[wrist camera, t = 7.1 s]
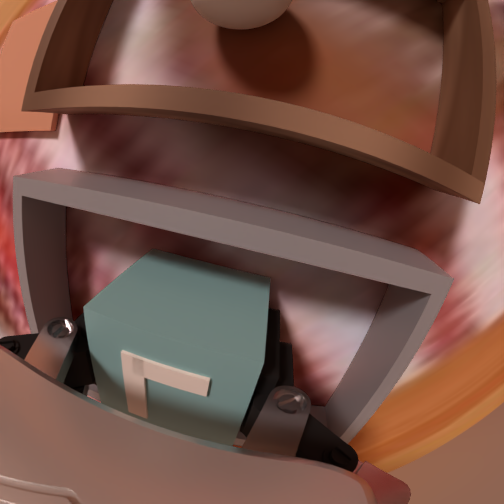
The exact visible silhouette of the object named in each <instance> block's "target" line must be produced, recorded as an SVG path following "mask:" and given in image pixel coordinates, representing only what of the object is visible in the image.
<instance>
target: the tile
mask: <svg viewBox="0 0 504 504" xmlns="http://www.w3.org/2000/svg"><path fill="white" fill-rule="evenodd" d="M57 1H58V0H57ZM57 1H55V2H53V3H50V4H48V5H45V6H43V7H41V8H39V9H37V10H34V11H32V12H30V13H28V14H26V15H24V16H22V17H20V18H18V19H16V20H15V21H13V22H12V25H11V27H10V30H9V32H8V34H7V37H6V40H5V42H4V45H3V48H2V51H1V54H0V132H13V131H56V126H57V120H58V115H59V114H58V113H45V112H26V111H21V109H22V104H23V99H24V95H25V91H26V86H27V82H28V79H29V75H30V71H31V68H32V65H33V61H34V58H35V55H36V52H37V49H38V46H39V44H40V41H41V38H42V36H43V33H44V30H45V28H46V25H47V23H48V21H49V18H50V16H51V14H52V12H53V10H54V7H55V5H56V3H57Z"/></svg>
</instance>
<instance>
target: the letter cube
mask: <svg viewBox="0 0 504 504" xmlns="http://www.w3.org/2000/svg"><path fill="white" fill-rule="evenodd" d="M269 292H270V278H269V277H265V276H261V275H257V274H252V273H248V272H244V271H240V270H236V269H232V268H228V267H224V266H220V265H216V264H212V263H208V262H204V261H200V260H196V259H192V258H188V257H184V256H180V255H176V254H172V253H168V252H164V251H161V250H157V249H151V250H150V251H149V252H148V253H146V254H145V255H144V256H143V257H141V258H140V259H139V260H138V261H136V262H135V263H134V264H133V265H132V266H130V267H129V268H128V269H127V270H126V271H124V272H123V273H122V274H121V275H120V276H118V277H117V278H116V279H115V280H114V281H112V282H111V283H110V284H109V285H108V286H107V287H105V288H104V289H103V290H102V291H101V292H100V293H98V294H97V295H96V296H95V297H94V298H93V299H92V300H90V301H89V302H88V303H87V304H86V305H85V306H84V307H83V309H84V318H85V325H86V332H87V339H88V345H89V350H90V356H91V361H92V366H93V371H94V375H95V380H96V384H97V388H98V392H99V396H100V400H101V403H102V404H104V405H106V406H108V407H111V408H113V409H115V410H117V411H120V412H122V413H125V414H127V415H130V416H132V417H135V418H137V419H140V420H142V421H145V422H148V423H151V424H153V425H156V426H159V427H162V428H165V429H168V430H171V431H175V432H178V433H181V434H184V435H188V436H191V437H195V438H199V439H203V440H207V441H211V442H215V443H219V444H224V445H228V446H233V444H234V441H235V439H236V436H237V434H238V431H239V429H240V426H241V424H242V421H243V418H244V416H245V413H246V411H247V408H248V405H249V403H250V400H251V397H252V395H253V392H254V389H255V386H256V384H257V381H258V378H259V375H260V373H261V370H262V367H263V364H264V358H265V346H266V333H267V320H268V306H269Z"/></svg>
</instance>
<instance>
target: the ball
mask: <svg viewBox="0 0 504 504" xmlns="http://www.w3.org/2000/svg"><path fill="white" fill-rule="evenodd" d="M291 1H292V0H191V2H192V4H193V6H194V8H195V9H196V11H197V12H198V13H199V14H200V15H201V16H202V17H203V18H205V19H206V20H208V21H209V22H211V23H213V24H215V25H218V26H221V27H224V28H229V29H240V30H241V29H252V28H257V27H260V26H263V25H266V24H268V23H270V22H272V21H274V20H275V19H277V18H278V17H280V16H281V15H282V14H283V13H284V12H285V11H286V10H287V8H288V7H289V5H290V3H291Z"/></svg>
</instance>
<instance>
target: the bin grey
mask: <svg viewBox="0 0 504 504" xmlns="http://www.w3.org/2000/svg"><path fill="white" fill-rule="evenodd" d="M66 206H68V207H72V208H76V209H80V210H85V211H89V212H93V213H97V214H101V215H106V216H110V217H114V218H118V219H122V220H127V221H131V222H135V223H139V224H143V225H147V226H152V227H156V228H160V229H164V230H168V231H172V232H177V233H181V234H185V235H189V236H193V237H197V238H202V239H206V240H210V241H214V242H218V243H222V244H227V245H231V246H235V247H239V248H243V249H247V250H251V251H256V252H260V253H264V254H268V255H272V256H276V257H280V258H285V259H289V260H293V261H297V262H301V263H305V264H309V265H314V266H318V267H322V268H326V269H330V270H334V271H338V272H342V273H347V274H351V275H355V276H359V277H363V278H367V279H371V280H375V281H380V282H384V283H388V284H389V286H388V289H387V291H386V293H385V296H384V298H383V300H382V303H381V305H380V307H379V309H378V311H377V313H376V316H375V318H374V320H373V322H372V324H371V326H370V328H369V330H368V332H367V334H366V336H365V338H364V340H363V342H362V344H361V346H360V348H359V350H358V351H357V353H356V355H355V357H354V359H353V361H352V362H351V364H350V366H349V368H348V370H347V371H346V373H345V375H344V377H343V378H342V380H341V382H340V383H339V385H338V387H337V388H336V390H335V392H334V393H333V395H332V396H331V398H330V400H329V401H328V403H327V404H326V406H325V407H324V406H315V405H311V409H310V412H309V413H310V414H311V415H312V416H313V417H315V418H316V419H317V420H318V421H319V422H321V423H322V424H323V425H324V426H326V427H327V428H328V429H329V430H330V431H332V432H333V433H334V434H335V435H337V436H338V437H339V438H341V439H342V440H343V441H344V442H346V443H347V444H348V443H349V442H350V441H351V440H352V439H353V438H354V436H355V435H356V434H357V433H358V432H359V431H360V430H361V428H362V427H363V426H364V425H365V424H366V422H367V421H368V420H369V419H370V418H371V416H372V415H373V414H374V413H375V411H376V410H377V409H378V408H379V406H380V405H381V404H382V402H383V401H384V400H385V398H386V397H387V396H388V394H389V393H390V391H391V390H392V389H393V387H394V386H395V384H396V383H397V382H398V380H399V379H400V377H401V376H402V374H403V373H404V371H405V370H406V368H407V367H408V365H409V363H410V362H411V360H412V359H413V357H414V355H415V354H416V352H417V351H418V349H419V347H420V345H421V344H422V342H423V340H424V339H425V337H426V335H427V333H428V331H429V330H430V328H431V326H432V324H433V322H434V320H435V318H436V316H437V314H438V312H439V310H440V308H441V306H442V304H443V302H444V300H445V298H446V296H447V294H448V292H449V289H450V287H451V285H452V283H453V280H454V278H452V277H451V276H450V275H449V274H448V273H446V272H445V271H444V270H443V269H442V268H440V267H439V266H438V265H437V264H435V263H434V262H433V261H432V260H430V259H429V258H428V257H426V256H425V255H424V254H423V253H421V252H420V251H419V250H417V249H414V248H411V247H408V246H405V245H402V244H398V243H395V242H392V241H389V240H385V239H382V238H379V237H375V236H372V235H369V234H365V233H362V232H358V231H355V230H351V229H348V228H344V227H341V226H337V225H333V224H330V223H326V222H322V221H319V220H315V219H311V218H307V217H303V216H300V215H296V214H292V213H288V212H284V211H280V210H276V209H272V208H268V207H263V206H259V205H255V204H251V203H246V202H242V201H238V200H233V199H229V198H224V197H220V196H215V195H210V194H206V193H201V192H196V191H191V190H186V189H181V188H176V187H171V186H166V185H161V184H156V183H150V182H145V181H139V180H133V179H128V178H122V177H116V176H110V175H103V174H97V173H90V172H84V171H77V170H70V169H62V168H56V169H50V170H44V171H38V172H32V173H27V174H22V175H17V176H13V223H14V239H15V250H16V259H17V266H18V273H19V280H20V286H21V291H22V296H23V301H24V306H25V310H26V315H27V319H28V323H29V327H30V330H31V334H35V333H40V332H41V330H42V329H43V327H44V325H45V324H46V323H47V322H48V321H49V320H51V319H53V318H57V317H66V318H69V319H72V320H73V318H72V311H71V304H70V296H69V286H68V275H67V260H66ZM87 395H89V396H91V397H93V398H95V399H97V400H99V401H101V400H100V396H99V392H98V388H97V385H95V384H90V385H89V390H88V394H87ZM245 440H246V437H245V435H244V434H243V433H242V432H240V429H239V431H238V434H237V436H236V439H235V441H234V444H233V445H238V446H243V444H244V442H245Z"/></svg>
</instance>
